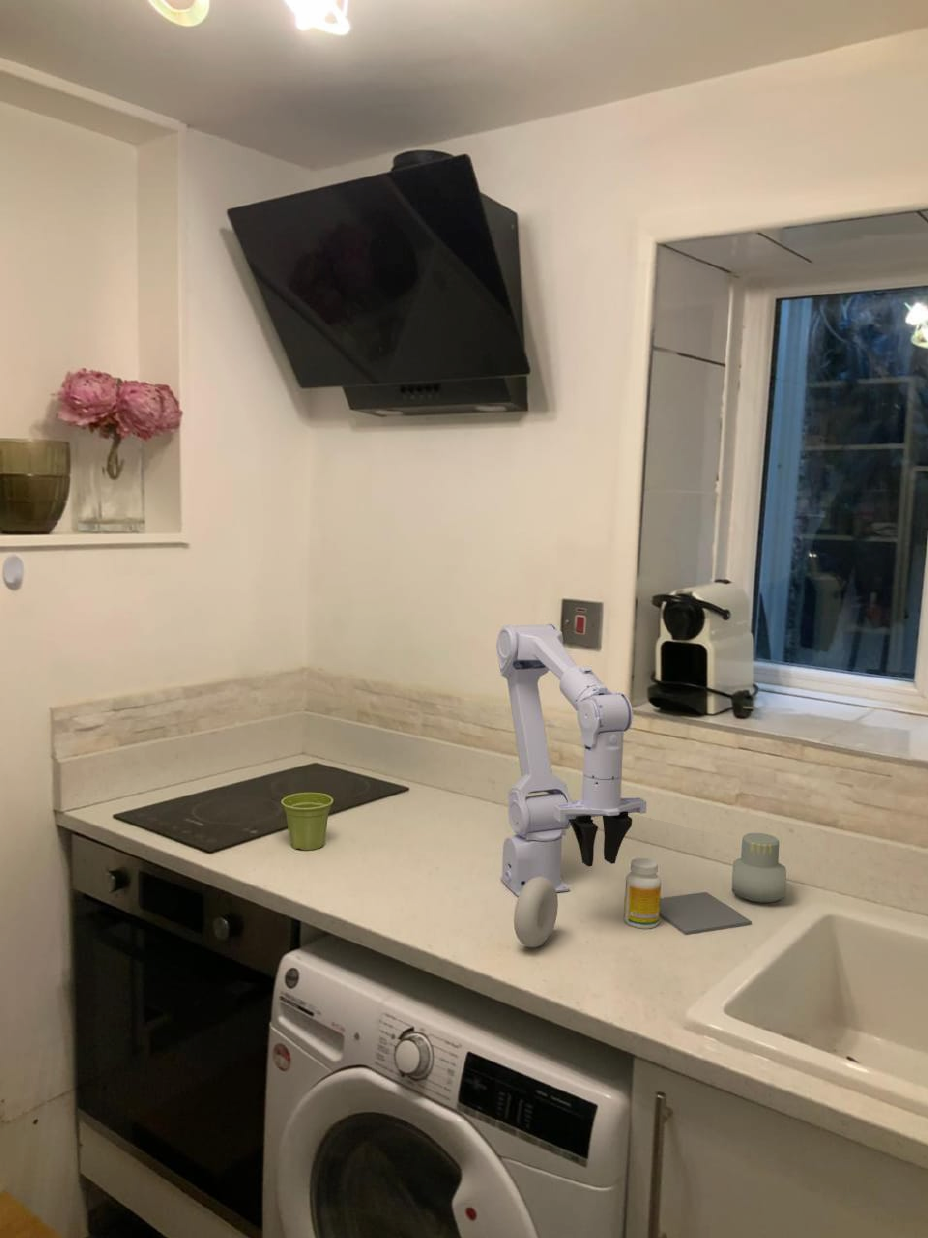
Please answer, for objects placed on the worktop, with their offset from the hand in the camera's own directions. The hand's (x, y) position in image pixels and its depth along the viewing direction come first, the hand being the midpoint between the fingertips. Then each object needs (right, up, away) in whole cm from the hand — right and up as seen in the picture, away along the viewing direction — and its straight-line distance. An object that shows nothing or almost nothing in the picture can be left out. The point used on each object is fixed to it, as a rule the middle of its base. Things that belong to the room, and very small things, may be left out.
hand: (598, 862), depth 146 cm
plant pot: (-49, -6, +34) cm, 60 cm away
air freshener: (+29, -10, +16) cm, 34 cm away
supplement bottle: (+7, -10, +4) cm, 13 cm away
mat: (+17, -10, +8) cm, 21 cm away
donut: (-10, -11, -4) cm, 15 cm away
